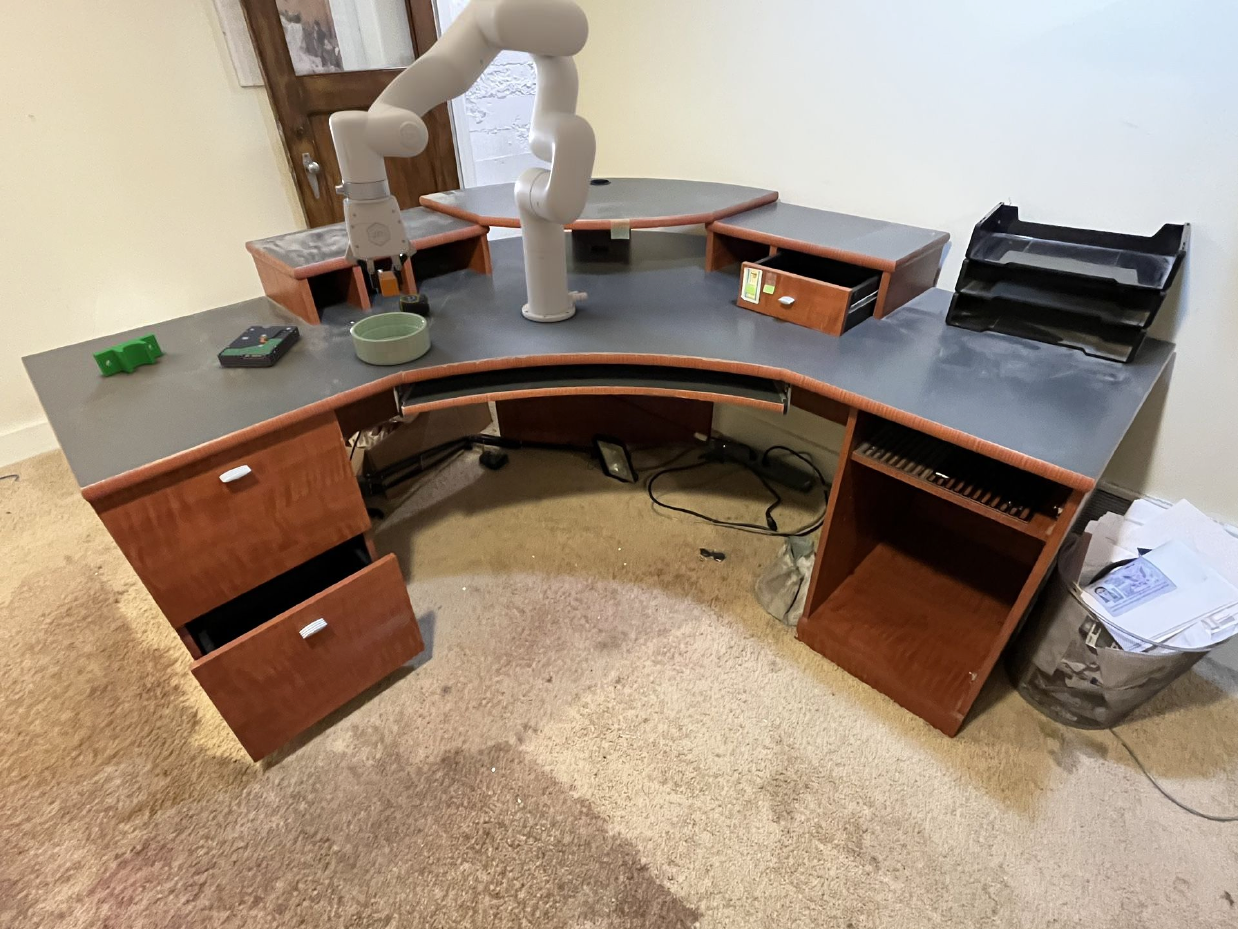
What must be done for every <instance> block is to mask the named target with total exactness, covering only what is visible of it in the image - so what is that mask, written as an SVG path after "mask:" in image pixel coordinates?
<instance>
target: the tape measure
mask: <svg viewBox="0 0 1238 929" xmlns="http://www.w3.org/2000/svg"><path fill="white" fill-rule="evenodd" d="M398 309H399V312H405V313H413V314H417V315H420V316H422V315H425V314H428V313H429V312H430V305H429V297H427V296H426V294H425V293H420V294H406V295H403V296H402V297H400V298H399V299H398Z"/></svg>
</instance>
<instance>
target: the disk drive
mask: <svg viewBox="0 0 1238 929" xmlns="http://www.w3.org/2000/svg"><path fill="white" fill-rule="evenodd" d="M300 337H301V334H300V331H299V327H298V326H297V325H271V326H269V327H263V326H262V325H250V327H248V328H247V329H246V330H245V331H244V332H242V333H241V334H240V335H239V336H237V338H235V339H234V340H233V341H232V342H231V343H230V344H228V345H227V346H226V347H225V348H224V349H222V350H221V351H220V352H219V353H218V354H217V358H218V362H219V363H220V367H221V366H223V367H224V366H226V367H268V366H272V365H274V364H275V363H276V362H277V361H278V360H279V359H280V358H281V357H282V355H284V353H285V352H287V351H288V350H289V348H290V347H291V346H292V345H293V344H295V342H296V341H297V340H298V339H299V338H300Z"/></svg>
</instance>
